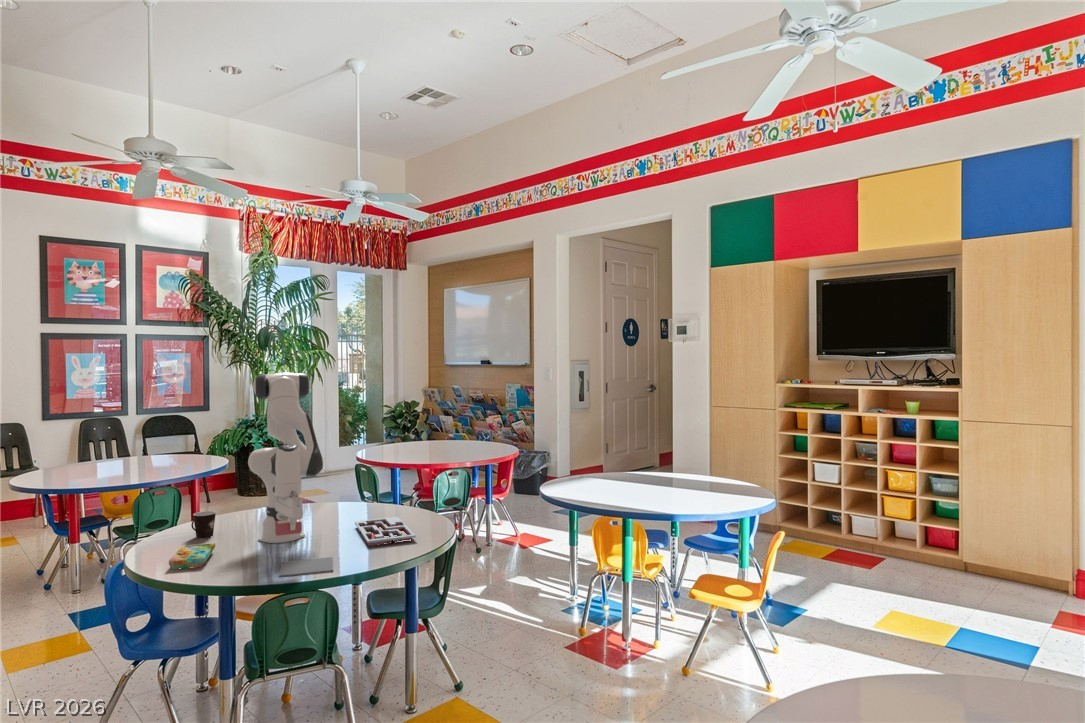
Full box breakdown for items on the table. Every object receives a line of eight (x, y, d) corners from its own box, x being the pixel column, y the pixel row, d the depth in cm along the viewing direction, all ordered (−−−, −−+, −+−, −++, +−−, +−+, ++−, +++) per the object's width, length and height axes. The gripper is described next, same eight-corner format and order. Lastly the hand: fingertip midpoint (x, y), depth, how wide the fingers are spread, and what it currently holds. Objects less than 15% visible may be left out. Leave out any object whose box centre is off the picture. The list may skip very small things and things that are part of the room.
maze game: (415, 543, 269) (415, 535, 269) (367, 548, 261) (367, 541, 261) (398, 523, 301) (398, 516, 301) (354, 528, 293) (354, 521, 293)
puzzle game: (168, 558, 233) (182, 543, 252) (168, 571, 233) (182, 555, 252) (204, 555, 237) (215, 541, 256) (204, 568, 237) (215, 553, 256)
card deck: (300, 529, 239) (300, 518, 239) (301, 532, 234) (301, 521, 234) (275, 532, 235) (275, 520, 235) (276, 535, 230) (276, 524, 230)
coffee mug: (209, 532, 285) (209, 510, 285) (219, 535, 280) (219, 512, 280) (182, 538, 275) (182, 515, 275) (192, 542, 270) (192, 518, 270)
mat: (281, 563, 241) (281, 561, 241) (332, 558, 247) (332, 557, 247) (279, 577, 226) (279, 575, 226) (333, 571, 232) (333, 569, 232)
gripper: (307, 492, 229) (307, 531, 229) (287, 484, 244) (288, 521, 244) (289, 495, 225) (289, 535, 225) (270, 486, 240) (270, 523, 240)
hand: (288, 527), depth 235 cm, fingers closed on card deck, 6 cm apart
